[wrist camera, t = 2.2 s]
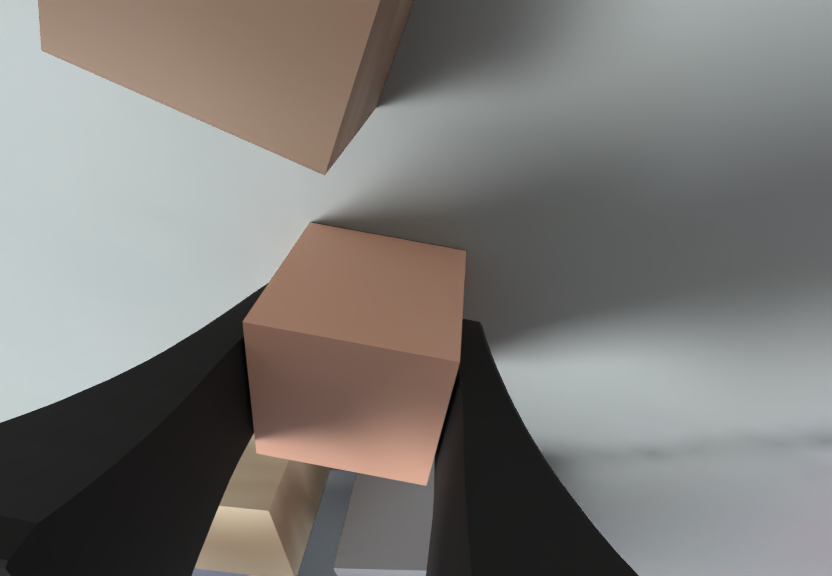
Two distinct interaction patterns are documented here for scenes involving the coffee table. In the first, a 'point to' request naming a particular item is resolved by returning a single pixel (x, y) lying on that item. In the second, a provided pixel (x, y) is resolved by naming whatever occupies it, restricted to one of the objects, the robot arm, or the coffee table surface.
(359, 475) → the slate cube
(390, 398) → the terracotta cube
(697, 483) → the coffee table surface
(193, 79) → the walnut cube
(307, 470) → the beech cube
